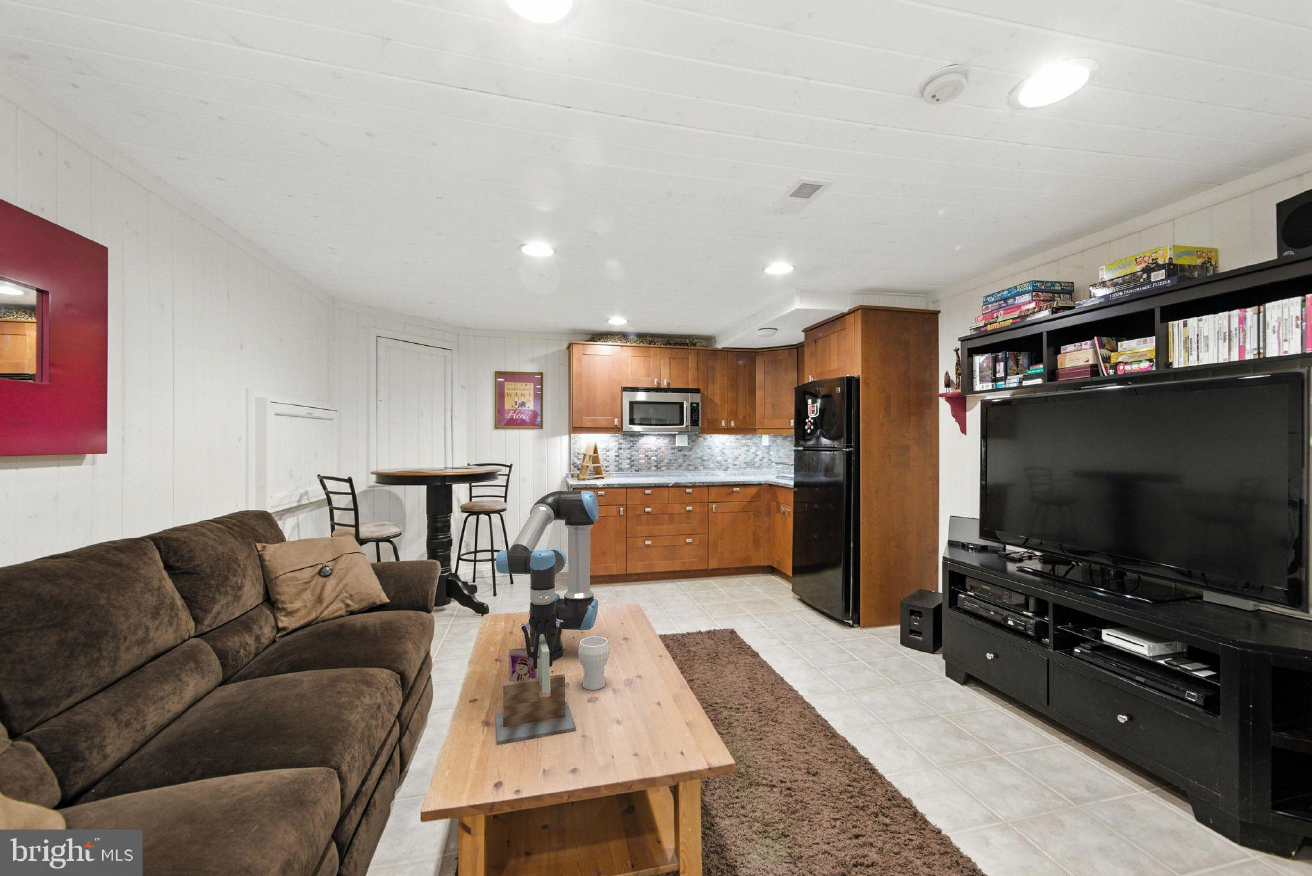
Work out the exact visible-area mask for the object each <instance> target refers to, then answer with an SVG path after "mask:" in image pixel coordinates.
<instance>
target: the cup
mask: <svg viewBox="0 0 1312 876" xmlns="http://www.w3.org/2000/svg"><path fill="white" fill-rule="evenodd" d="M577 654H578V655H577V656H578V659H579V662H580V665H581V667H582V669H583V680H582V687H583V688H584V689H585V690H591V691H596V690H600V689H602V688H604V687H605V685H606V681H605V680H606V679H605V666H606V665H607V663H608V660H609V656H610V646H609V641H608V639H607V638H606V637H603V636H594V635H593V636H587V637H584V638H582V639H580V642H579V646H578V653H577Z"/></svg>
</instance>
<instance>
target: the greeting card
mask: <svg viewBox="0 0 1312 876" xmlns="http://www.w3.org/2000/svg"><path fill="white" fill-rule="evenodd" d="M530 648H531V652H533V647H530ZM533 678H537V669H534V668H533V658H531V657H530V658H529V657H528V656H527V650H526V647H518V648H511V649H510V648H509V649H508V682H512V681H519V680H526V679H533ZM539 692H542V686H541V685H540V682H539Z"/></svg>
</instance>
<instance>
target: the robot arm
mask: <svg viewBox="0 0 1312 876" xmlns="http://www.w3.org/2000/svg"><path fill="white" fill-rule="evenodd" d="M599 508H600V507H599V503H598V498H597V496H596V493H595V492H593V491H590V490H589V491H588V490H555V491H552V492H549V493H547V494H545V495H544V496H541V498H539V499H538V500H537V501H536V502H534V504H533V505H532V507H531V508H530V510H529V516H528V518H527V520H526V522H524V523H525V524H524V525H523V526H522V528H521V530H520V531H519V533H518V535H517V536H516V538H515V540H514V541H513V543H512V545H511V546H510V547H509V549H505V550H499V551H498V553H497V554H496V557H495V569H496V572H497V573H499V574H506V575H530V576H529V577H530V579H529V580H530V583H529V584H530V590H529V591H530V593H529V595H530V596H529V597H530V598H529V600H530V601H529V610H528V612H529V619H528V621H527V622H526V623H522V624H521V625H520V627H521V630H522V632H523V635H524V643H525V648H526V650H527V656H528V657H529V658H530V657H531V658H533V668H534V669H537V678H539V680H540V657H539V656H538V648H539V638H540V634H544V637H545V640H546V643H547V646H548V649H549V668H551V667H553V662H554V661H556V660H559V659H560V658H562V657H563V656H564V654H565V647H564V643H563V640H562V638H561V635H562V630H567V631H568V630H569V631H570V630H573V631H576V630H577V631H589V630H591V629H592V628H593V627H594V626H595V624H596V620H597V616H598V611H599V600H598V598H595V596H594V595H595V594H594V593H593V591H592V590H591V529H592V528H593V527H594V526H595V521H598V519H599V517H600V516H599V513H600V510H599ZM553 521H564V526H565V527H566V529H567V530H568V542H567V543H568V545H567V546H568V551H567V554H568V557H566V555H565V553H564V552H563V551H562V550H561V549H559V548H554V549H553V548H552V549H538V550H535V549H536V547H537V545H538V543H539V542H540V540H541V538H542V537H543V535H544V532H545V531H546V530H547V529H546V528H547V527H548V526H550V524H552V523H553ZM567 561H568V563H567ZM566 564H567V565H568V567H567V568H568V569H567V570H568V571H567V573H568V574H567V577H568V578H567V591H566V592H565V593H564V595H563V597H562V598H561V596H560V594H559V593H556V575H557V574H558V573H560V572H561V571H562V570H563V569H564V567H565V565H566ZM530 647H533V652H531V648H530Z"/></svg>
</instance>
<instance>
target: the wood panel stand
mask: <svg viewBox="0 0 1312 876" xmlns="http://www.w3.org/2000/svg"><path fill="white" fill-rule="evenodd" d="M549 693H550V695H549V696H548V695H547V696H541V697H540V691H539V678H533V679H526V680H519V681H512V682H509V681H506V682H502V711H501V712H495V713H494V717H495V718H494V719H495V732H496V733H495V734H496V745H503V744H509V743H516V742H521V741H526V740H531V739H537V738H543V737H547V736H549V737H550V736H553V735H559V734H565V733H571V732H575V731H577V727H576V722H575V721H574V717H573V714H572V711H571V709H570V705H569V703H568V701H566V675H565V673H563V674H556V675H555V674H554V675H549Z"/></svg>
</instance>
